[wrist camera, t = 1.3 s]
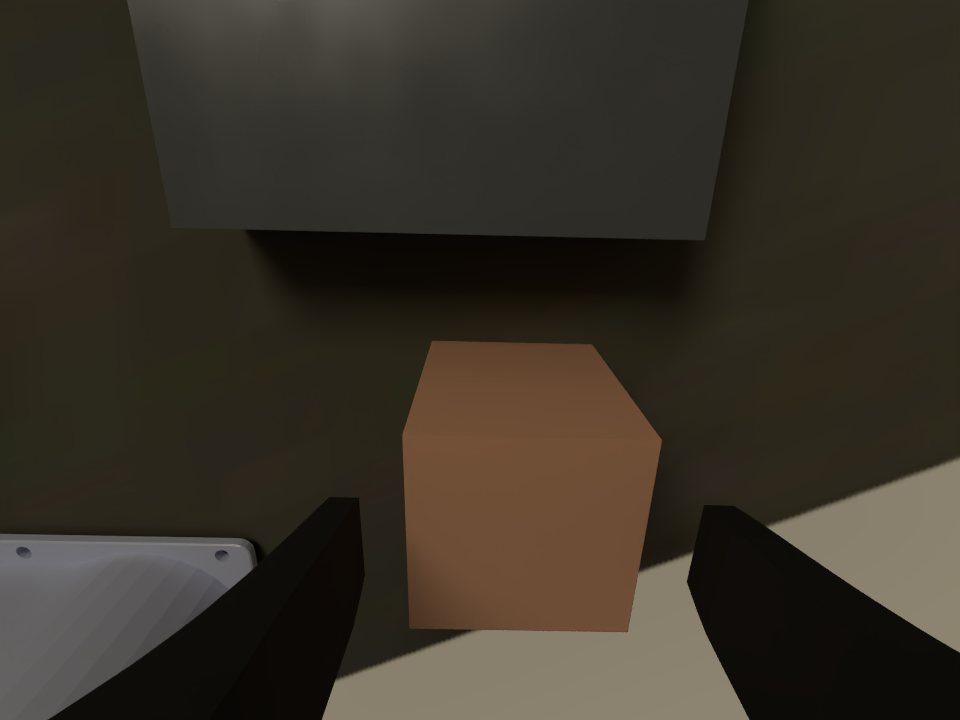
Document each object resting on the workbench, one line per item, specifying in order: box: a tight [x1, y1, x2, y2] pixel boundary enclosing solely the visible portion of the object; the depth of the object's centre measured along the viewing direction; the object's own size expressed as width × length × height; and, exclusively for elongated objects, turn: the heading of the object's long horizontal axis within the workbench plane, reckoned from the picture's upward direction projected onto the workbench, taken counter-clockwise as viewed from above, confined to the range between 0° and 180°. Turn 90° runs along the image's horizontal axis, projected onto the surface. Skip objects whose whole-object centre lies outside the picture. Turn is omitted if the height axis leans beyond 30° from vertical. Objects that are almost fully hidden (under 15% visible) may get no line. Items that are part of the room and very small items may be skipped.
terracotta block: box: [402, 341, 662, 632], centre depth 13 cm, size 5×5×6 cm
